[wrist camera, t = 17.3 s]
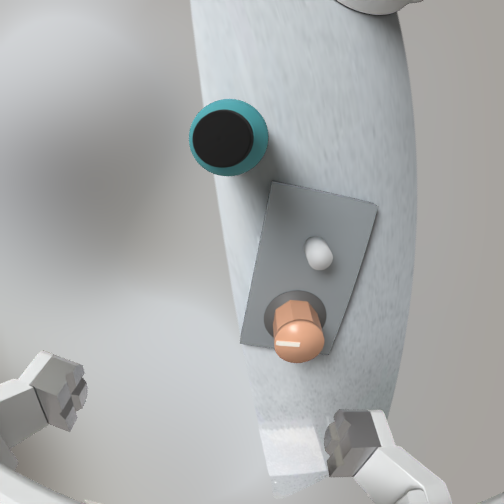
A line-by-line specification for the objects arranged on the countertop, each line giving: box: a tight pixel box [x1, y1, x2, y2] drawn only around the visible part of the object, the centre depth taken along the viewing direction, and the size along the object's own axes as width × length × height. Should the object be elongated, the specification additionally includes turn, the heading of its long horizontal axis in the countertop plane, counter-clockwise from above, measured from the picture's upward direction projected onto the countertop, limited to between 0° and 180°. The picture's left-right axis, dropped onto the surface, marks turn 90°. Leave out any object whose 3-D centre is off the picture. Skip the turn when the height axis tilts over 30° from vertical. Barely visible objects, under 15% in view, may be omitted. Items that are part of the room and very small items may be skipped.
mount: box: [240, 181, 378, 355], centre depth 42 cm, size 24×14×6 cm, turn 170°
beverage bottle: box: [189, 99, 268, 176], centre depth 29 cm, size 6×7×20 cm
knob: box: [273, 300, 324, 363], centre depth 42 cm, size 6×6×6 cm
